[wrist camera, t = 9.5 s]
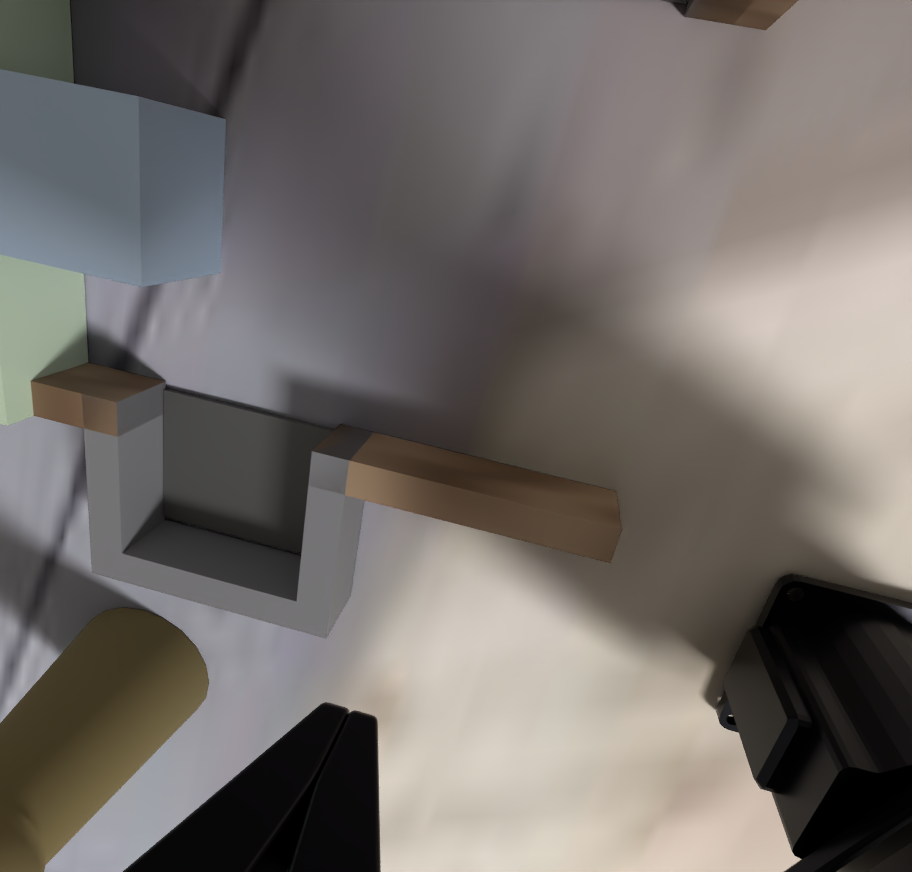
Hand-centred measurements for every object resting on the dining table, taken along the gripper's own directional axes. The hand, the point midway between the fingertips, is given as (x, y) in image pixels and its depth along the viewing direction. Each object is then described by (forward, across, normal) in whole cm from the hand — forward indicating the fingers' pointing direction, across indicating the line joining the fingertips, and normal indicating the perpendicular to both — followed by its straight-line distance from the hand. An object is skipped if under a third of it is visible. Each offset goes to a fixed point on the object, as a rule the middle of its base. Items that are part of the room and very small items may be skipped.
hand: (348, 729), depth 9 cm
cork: (+12, +12, +14) cm, 22 cm away
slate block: (+12, +11, -6) cm, 18 cm away
